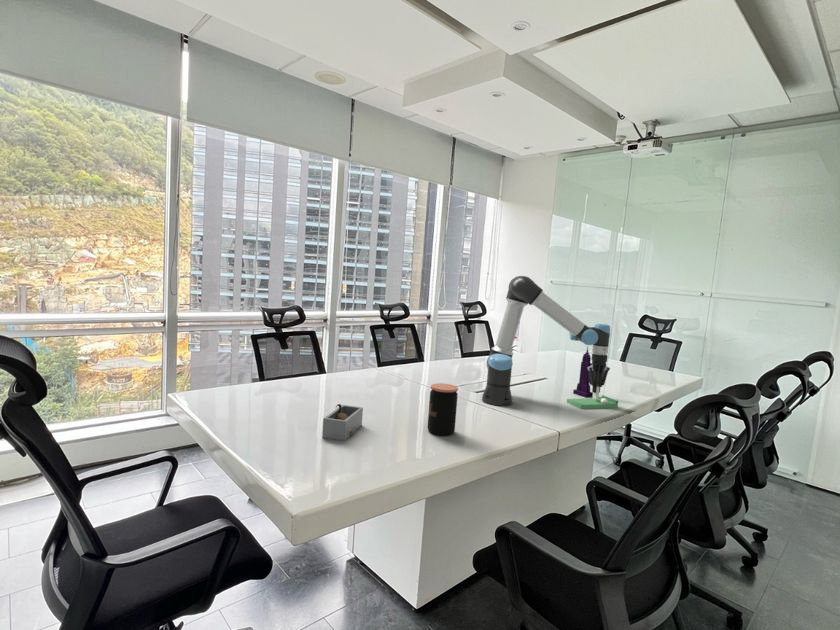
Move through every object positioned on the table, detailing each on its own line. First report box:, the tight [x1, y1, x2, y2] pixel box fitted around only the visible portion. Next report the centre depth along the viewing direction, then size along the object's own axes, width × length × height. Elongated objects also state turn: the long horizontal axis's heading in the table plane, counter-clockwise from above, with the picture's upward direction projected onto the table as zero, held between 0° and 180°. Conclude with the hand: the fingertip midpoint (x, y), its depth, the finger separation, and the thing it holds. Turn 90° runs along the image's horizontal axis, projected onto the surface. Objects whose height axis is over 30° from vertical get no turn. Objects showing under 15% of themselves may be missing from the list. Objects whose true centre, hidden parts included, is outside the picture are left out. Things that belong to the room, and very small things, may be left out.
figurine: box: [335, 403, 354, 436], centre depth 168 cm, size 14×4×9 cm, turn 30°
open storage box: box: [321, 404, 364, 442], centre depth 168 cm, size 8×18×7 cm, turn 168°
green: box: [566, 394, 619, 410], centre depth 233 cm, size 23×11×4 cm, turn 108°
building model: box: [572, 345, 593, 398], centre depth 253 cm, size 9×6×30 cm
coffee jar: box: [427, 382, 459, 437], centre depth 175 cm, size 11×11×18 cm
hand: (595, 398), depth 234 cm, fingers closed
